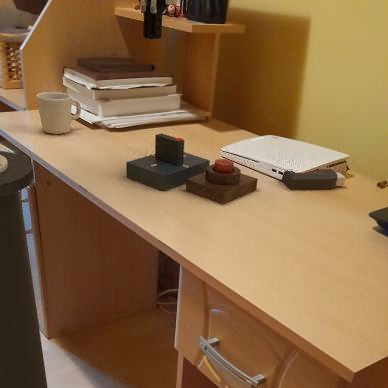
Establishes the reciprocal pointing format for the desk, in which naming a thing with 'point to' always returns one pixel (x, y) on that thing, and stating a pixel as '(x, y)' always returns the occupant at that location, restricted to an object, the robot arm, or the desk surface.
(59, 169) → the desk surface
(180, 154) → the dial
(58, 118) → the cup
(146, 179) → the panel
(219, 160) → the button
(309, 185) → the usb drive
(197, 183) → the button block
